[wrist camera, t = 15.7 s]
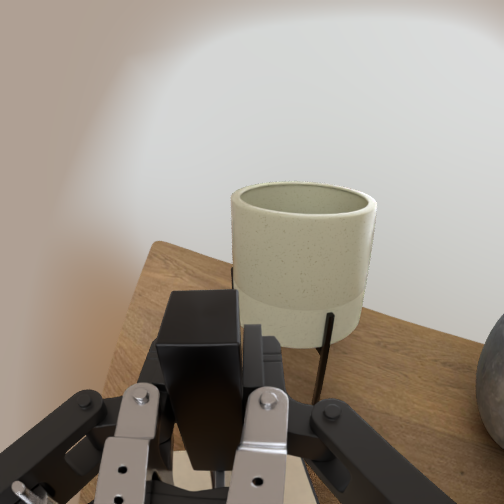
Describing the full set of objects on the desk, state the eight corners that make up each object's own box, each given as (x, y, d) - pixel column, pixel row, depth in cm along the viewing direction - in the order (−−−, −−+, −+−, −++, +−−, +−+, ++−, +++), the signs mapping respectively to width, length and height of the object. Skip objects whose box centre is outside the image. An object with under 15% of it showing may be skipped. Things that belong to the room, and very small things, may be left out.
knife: (216, 547, 12) (140, 390, 6) (216, 473, 18) (178, 268, 12) (253, 547, 13) (242, 391, 6) (248, 473, 18) (237, 266, 12)
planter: (251, 322, 51) (249, 177, 41) (350, 337, 46) (372, 187, 37) (215, 389, 37) (199, 208, 28) (342, 412, 33) (384, 225, 24)
